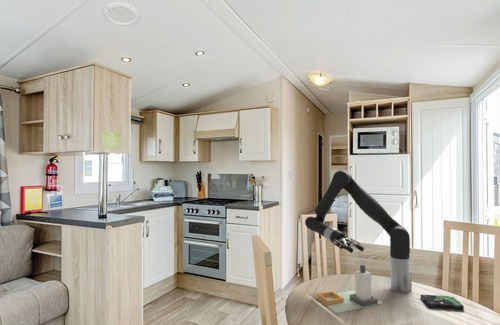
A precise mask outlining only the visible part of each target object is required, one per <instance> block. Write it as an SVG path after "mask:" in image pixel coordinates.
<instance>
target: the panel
mask: <svg viewBox="0 0 500 325" xmlns="http://www.w3.org/2000/svg"><path fill="white" fill-rule="evenodd" d="M315 299H316V301H317V302H320V303H321V305H323V304H324V305H323V306H325V308H327V309H329V311H331V312H333V314H334V315H336V314H340V313H344V312H348V311H353V310H357V309H361V308H362V309H363V308H367V307H373V306H375V305H381V304H383V302H382V301H380V300H379V299H378V298H376V297H374V296H373V295H371V300H366V301H361V300H360V299H358V298H356V289H353V290H349V291H342V292H335V291H333V290H330V291H329V290H328V291H324V292H319V293H317V294H316V297H315ZM330 309H331V310H330ZM334 312H335V313H336V314H335V313H334Z"/></svg>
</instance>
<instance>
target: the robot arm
mask: <svg viewBox="0 0 500 325" xmlns="http://www.w3.org/2000/svg"><path fill="white" fill-rule="evenodd" d="M342 189H343V190H344V191H346V192H347V193H348V194H349V195H350V197H351V198H352V199H353V201H354V202H355V204H356V205H357V206H358V207H359V209H360V210H361V211H362V212H363V213H364V214H365V215H366V216H367V217H368V218H370V219H371V220H373V221H374V222H376V223H377V224H379V226H381V228H382V229H383V230H384V231H385V233H387V234H388V236H389V244H390V245H389V246H390V247H389V248H390V249H389V257H390V258H389V259H390V261H389V262H390V264H389V265H390V289H391V290H392V291H395V292H397V293H402V294H406V293H410V292H411V291H412V290H413V288H412V272H411V271H410V270H411V268H410V265H411V264H410V258H411V257H410V255H411V239H410V234H409V231H408V230H407V229H406V228H405V227H404V226H403V225H401V224H400V223H398V222H397V221H396V220H395V219H394V218H392V216H391V215H390V214H389V213H388V212H387V211H386V209H385V208H384V207H383V206H382V205H381V204H380V203H379V202H378V200H376V198H374V197H373V195H371V194H370V193H369V192H367V191H366V190H365V188H362V186H360V185H359V183H358V182H357V181H356V180H355V179H354V178H353V177H352V176H351V174H349V172H348V171H347V170H343V169H342V170H341V169H340V170H337V171H336V172H334V174H333V175H332V178H331V181H330V183H329V186H328V188H327V189H326V192H325V193H324V194H323V196H322V198H321V200H319V202H318V203H317V206H316V207H315V209H314V214H316V215H315V217H314V216H308V217H306V218H305V221H304V224H305V227H306V228H307V229H309V230H310V231H313V232H315V233H317V234H320V236H322V237H323V238H325V239H326V240H327V241H329V242H331V244H333V245H335V247H337V248H338V249H340V250H346V251H347V252H349V253H350V254H352V253H353V252H354V248H356V249H357V250H359V251H360V252H364V249H365V247H364V246H362V245H361V243H360V242H359V241H357V240H356V239H354V238H353V237H350V239H349V238H347V237H346V234H345V233H343V231H340V230H339V229H337V228H334V227H333V226H331V225H329V224H327V223H324V222H325V220H326V216H327V214H328V213H329V212H330V209H331V207H332V206H333V204H334V202H335V200H336V198H337V197H338V195H339V194H340V193H341V191H342Z"/></svg>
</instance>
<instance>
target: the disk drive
mask: <svg viewBox="0 0 500 325" xmlns="http://www.w3.org/2000/svg"><path fill="white" fill-rule="evenodd" d="M420 300H421V301H422V302H423V304H424V305H425V306H426V307H427V308H428V309H433V310H434V309H435V310H449V311H461V312H464V310H465V306H464V305H463V304H462V303H461V302H460V301H459V300H457V298H455V296H449V295H437V294H436V295H435V294H420Z"/></svg>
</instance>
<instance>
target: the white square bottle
mask: <svg viewBox="0 0 500 325" xmlns="http://www.w3.org/2000/svg"><path fill="white" fill-rule="evenodd" d="M354 274H355V275H354V276H355V278H354V281H355V284H354V286H355V290H356V298H358V299H360V300H361V301H366V300H371V296H372V273H371V272H370V271H367V270H366V265H364V264H360V265H359V270H355V272H354Z"/></svg>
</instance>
